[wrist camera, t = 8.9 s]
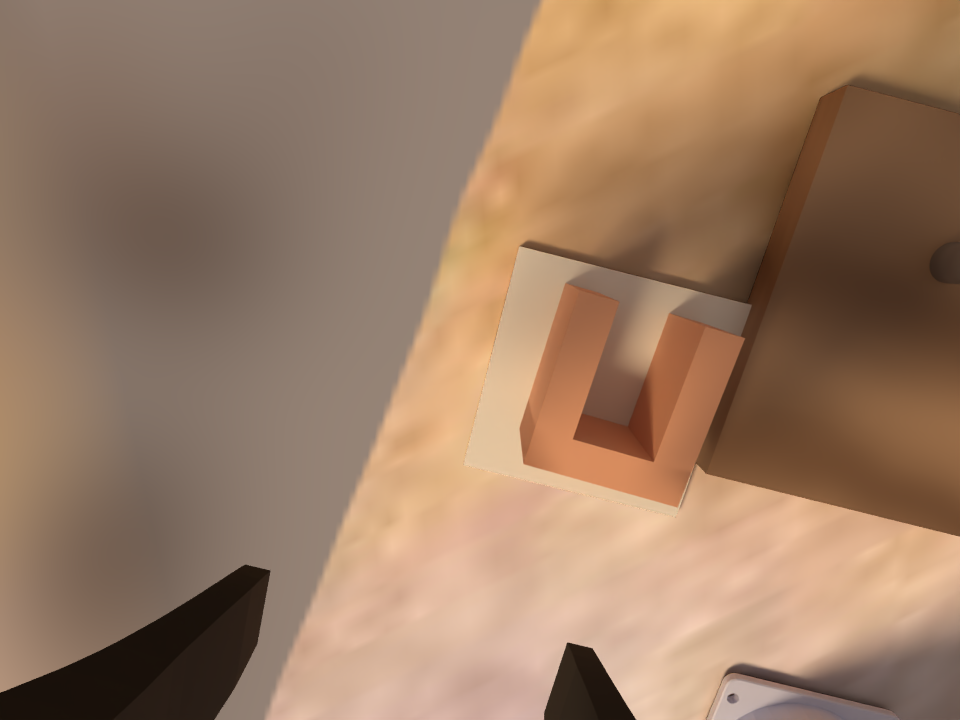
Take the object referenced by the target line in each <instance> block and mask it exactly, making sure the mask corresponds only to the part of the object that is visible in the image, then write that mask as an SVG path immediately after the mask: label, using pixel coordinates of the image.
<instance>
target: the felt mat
mask: <svg viewBox="0 0 960 720" xmlns="http://www.w3.org/2000/svg"><path fill="white" fill-rule="evenodd" d="M565 283H567V284H571V285H574V286H578V287H581V288H584V289H588V290H591V291H595V292H598V293H601V294H603V295H605V296H607V297H610V298H612V299H614V300H617V301H619V305H618V308H617V311H616V314H615V317H614V320H613V323H612V326H611V329H610V332H609V335H608V338H607V340H606V343H605V346H604V349H603V352H602V355H601V358H600V361H599V364H598V367H597V370H596V373H595V376H594V379H593V381H592V384H591V387H590V390H589V393H588V396H587V399H586V402H585V405H584V408H583V411H582V414H586V415H589V416H593V417H596V418H600V419H603V420H607V421H610V422H614V423H617V424H621V425H625V426H628V425H629V422H630V419H631V416H632V414H633V411H634V408H635V405H636V403H637V400H638V397H639V394H640V392H641V389H642V386H643V383H644V381H645V378H646V375H647V372H648V370H649V367H650V364H651V361H652V359H653V356H654V353H655V350H656V348H657V345H658V342H659V339H660V337H661V334H662V331H663V328H664V326H665V323H666V320H667V317H668V315H669V313H670V314H674V315H677V316H681V317H684V318H688V319H691V320H695V321H698V322H701V323H704V324H707V325H710V326H713V327H715V328H718V329H721V330H724V331H726V332H729V333H732V334H735V335H737V336H740V337H741V334H742V332H743V329H744V326H745V323H746V320H747V318H748V315H749V312H750V309H751V306H752V305H750V304H746V303H742V302H738V301H734V300H730V299H726V298H722V297H718V296H714V295H710V294H706V293H702V292H698V291H695V290H691V289H687V288H683V287H679V286H675V285H671V284H667V283H663V282H659V281H655V280H651V279H647V278H643V277H639V276H635V275H631V274H627V273H623V272H619V271H616V270H612V269H608V268H604V267H600V266H596V265H592V264H588V263H584V262H580V261H576V260H572V259H568V258H564V257H560V256H556V255H552V254H548V253H544V252H540V251H537V250H533V249H529V248H525V247H521V246H519V249H518V253H517V257H516V261H515V265H514V269H513V272H512V276H511V280H510V284H509V288H508V292H507V296H506V300H505V304H504V307H503V311H502V315H501V319H500V323H499V327H498V331H497V335H496V339H495V342H494V346H493V350H492V354H491V358H490V362H489V366H488V370H487V374H486V377H485V381H484V385H483V389H482V393H481V397H480V401H479V405H478V409H477V412H476V416H475V420H474V424H473V428H472V432H471V436H470V440H469V444H468V447H467V451H466V455H465V459H464V464H463V465H465V466H469V467H473V468H477V469H481V470H485V471H489V472H493V473H497V474H501V475H505V476H509V477H513V478H517V479H521V480H525V481H530V482H534V483H538V484H542V485H546V486H550V487H554V488H558V489H562V490H566V491H570V492H574V493H578V494H582V495H586V496H590V497H595V498H599V499H603V500H607V501H611V502H615V503H619V504H623V505H627V506H631V507H635V508H639V509H643V510H647V511H651V512H655V513H660V514H664V515H668V516H672V517H676V516H677V513H678V510H679V508H680V505H681V502H682V499H683V496H684V494H685V491H686V488H687V485H688V483H687V485H686V488H685V490H684V493H683V495H682V498H681V500H680V503H679V505H678V508H677V507H674V506H670V505H667V504H663V503H660V502H656V501H652V500H649V499H645V498H642V497H638V496H635V495H631V494H628V493H624V492H621V491H617V490H613V489H610V488H606V487H603V486H599V485H596V484H592V483H589V482H585V481H582V480H578V479H574V478H571V477H567V476H564V475H560V474H557V473H553V472H550V471H546V470H542V469H539V468H535V467H532V466H528V465H525V464H523V457H522V448H521V439H520V430H519V428H520V425H521V421H522V418H523V415H524V412H525V409H526V406H527V402H528V399H529V396H530V393H531V390H532V387H533V383H534V380H535V377H536V374H537V371H538V368H539V365H540V361H541V358H542V355H543V352H544V349H545V346H546V342H547V339H548V336H549V333H550V330H551V327H552V324H553V320H554V317H555V314H556V311H557V308H558V305H559V301H560V298H561V295H562V292H563V289H564V286H565ZM694 466H695V465H694ZM692 471H693V470H692ZM691 474H692V473H691ZM690 477H691V475H690ZM689 480H690V478H689ZM689 480H688V482H689Z"/></svg>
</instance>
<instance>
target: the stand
mask: <svg viewBox="0 0 960 720" xmlns="http://www.w3.org/2000/svg"><path fill="white" fill-rule="evenodd" d="M747 304H750V305H752V306H751V309H750V312H749V315H748V318H747V320H746V323H745V326H744V329H743V332H742V334H741V337H743V338H745V340H744V342H743V345H742V347H741V350H740V352H739V355H738V357H737V360H736V362H735V365H734V367H733V370H732V372H731V375H730V377H729V380H728V382H727V385H726V388H725V390H724V393H723V395H722V398H721V400H720V403H719V405H718V408H717V410H716V413H715V415H714V418H713V420H712V423H711V425H710V428H709V430H708V433H707V435H706V438H705V440H704V443H703V445H702V448H701V450H700V453H699V455H698V458H697V460H696V463H697V464H698V465H699V466H700V467H701V469H702V470H703V471H704V472H705V473H706V474H709V475H713V476H717V477H722V478H726V479H730V480H734V481H738V482H742V483H746V484H750V485H754V486H758V487H762V488H766V489H770V490H774V491H778V492H782V493H786V494H790V495H794V496H798V497H802V498H806V499H810V500H814V501H818V502H822V503H826V504H831V505H835V506H839V507H843V508H847V509H851V510H855V511H859V512H863V513H867V514H871V515H875V516H879V517H883V518H887V519H891V520H895V521H899V522H903V523H907V524H911V525H915V526H919V527H923V528H927V529H931V530H936V531H940V532H944V533H948V534H952V535H956V536H960V114H958V113H954V112H950V111H947V110H943V109H939V108H935V107H931V106H927V105H923V104H920V103H916V102H912V101H908V100H904V99H900V98H897V97H893V96H889V95H885V94H881V93H877V92H874V91H870V90H866V89H862V88H858V87H854V86H851V85H847V86H844V87H842V88H840V89H838V90H836V91H834V92H832V93H830V94H827V95H825V96H823V97H821V98H820V100H819V103H818V106H817V109H816V112H815V115H814V117H813V120H812V123H811V126H810V129H809V131H808V134H807V137H806V140H805V143H804V145H803V148H802V151H801V154H800V157H799V159H798V162H797V165H796V168H795V171H794V174H793V176H792V179H791V182H790V185H789V188H788V190H787V193H786V196H785V199H784V202H783V204H782V207H781V210H780V213H779V216H778V218H777V221H776V224H775V227H774V230H773V233H772V235H771V238H770V241H769V244H768V247H767V249H766V252H765V255H764V258H763V261H762V263H761V266H760V269H759V272H758V275H757V277H756V280H755V283H754V286H753V289H752V292H751V294H750V297H749V300H748V303H747Z"/></svg>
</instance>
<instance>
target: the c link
mask: <svg viewBox="0 0 960 720" xmlns="http://www.w3.org/2000/svg"><path fill="white" fill-rule="evenodd" d="M618 305H619V301H617V300H614V299H612V298H610V297H607V296H605V295H603V294H601V293H598V292H595V291H591V290H588V289H584V288H581V287H578V286H574V285H571V284H567V283H565V286H564V289H563V292H562V295H561V298H560V301H559V305H558V308H557V311H556V314H555V317H554V320H553V324H552V327H551V330H550V333H549V336H548V339H547V342H546V346H545V349H544V352H543V355H542V358H541V361H540V365H539V368H538V371H537V374H536V377H535V380H534V383H533V387H532V390H531V393H530V396H529V399H528V402H527V406H526V409H525V412H524V415H523V418H522V421H521V425H520V428H519V430H520V439H521V448H522V457H523V464H525V465H528V466H532V467H535V468H539V469H542V470H546V471H550V472H553V473H557V474H560V475H564V476H567V477H571V478H574V479H578V480H582V481H585V482H589V483H592V484H596V485H599V486H603V487H606V488H610V489H613V490H617V491H621V492H624V493H628V494H631V495H635V496H638V497H642V498H645V499H649V500H652V501H656V502H660V503H663V504H667V505H670V506H674V507H677V508H678V505H679V503H680V500H681V498H682V495H683V493H684V490H685V488H686V485H687V483H688V480H689V478H690V475H691V473H692V470H693V468H694V465H695V463H696V460H697V458H698V455H699V453H700V450H701V448H702V445H703V443H704V440H705V438H706V435H707V433H708V430H709V428H710V425H711V423H712V420H713V418H714V415H715V413H716V410H717V408H718V405H719V403H720V400H721V398H722V395H723V393H724V390H725V388H726V385H727V382H728V380H729V377H730V375H731V372H732V370H733V367H734V365H735V362H736V360H737V357H738V355H739V352H740V350H741V347H742V345H743V342H744V340H745V338H743V337H740V336H737V335H735V334H732V333H729V332H726V331H724V330H721V329H718V328H715V327H713V326H710V325H707V324H704V323H701V322H698V321H695V320H691V319H688V318H684V317H681V316H677V315H674V314H670V313H669V315H668V317H667V320H666V323H665V326H664V328H663V331H662V334H661V337H660V339H659V342H658V345H657V348H656V350H655V353H654V356H653V359H652V361H651V364H650V367H649V370H648V372H647V375H646V378H645V381H644V383H643V386H642V389H641V392H640V394H639V397H638V400H637V403H636V405H635V408H634V411H633V414H632V416H631V419H630V422H629V425H628V426H625V425H621V424H617V423H614V422H610V421H607V420H603V419H600V418H596V417H593V416H589V415H586V414H582V411H583V408H584V405H585V402H586V399H587V396H588V393H589V390H590V387H591V384H592V381H593V379H594V376H595V373H596V370H597V367H598V364H599V361H600V358H601V355H602V352H603V349H604V346H605V343H606V340H607V338H608V335H609V332H610V329H611V326H612V323H613V320H614V317H615V314H616V311H617V308H618Z"/></svg>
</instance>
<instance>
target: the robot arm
mask: <svg viewBox="0 0 960 720" xmlns="http://www.w3.org/2000/svg"><path fill="white" fill-rule="evenodd" d="M269 576H270V570H265V569H261V568H257V567H253V566H249V565H244V566H242V567H240V568H239V569H237V570H235V571H234V572H232V573H231V574H229V575H228V576H226V577H225V578H223V579H222V580H220V581H219V582H217V583H215V584H214V585H212V586H211V587H209V588H208V589H206V590H205V591H203V592H202V593H200V594H198V595H197V596H195V597H194V598H192V599H190V600H189V601H187V602H186V603H184V604H182V605H181V606H179V607H177V608H176V609H174V610H173V611H171V612H169V613H168V614H166V615H164V616H163V617H161V618H160V619H158V620H156V621H154V622H152V623H150V624H149V625H147V626H145V627H143V628H142V629H140V630H138V631H136V632H135V633H133V634H131V635H129V636H127V637H125V638H124V639H122V640H120V641H118V642H116V643H114V644H112V645H110V646H108V647H106V648H104V649H102V650H100V651H99V652H96V653H94V654H92V655H90V656H87V657H85V658H83V659H81V660H79V661H77V662H75V663H72V664H70V665H68V666H66V667H64V668H61V669H59V670H56V671H54V672H51V673H49V674H46V675H44V676H42V677H39V678H36V679H34V680H31V681H29V682H26V683H24V684H21V685H19V686H16V687H14V688H11V689H9V690H7V691H4V692H1V693H0V720H214V719H215V718H216V716H217V714H218V713H219V711H220V710H221V708H222V707H223V705H224V704H225V702H226V701H227V699H228V698H229V696H230V695H231V693H232V691H233V690H234V688H235V686H236V684H237V682H238V681H239V679H240V677H241V675H242V673H243V671H244V669H245V667H246V665H247V663H248V661H249V659H250V657H251V655H252V653H253V651H254V649H255V647H256V645H257V642H258V637H259V630H260V625H261V619H262V615H263V609H264V604H265V598H266V592H267V587H268V582H269ZM732 693H734V694H733V695H732V696H728V695H730V694H732ZM544 720H636V719H635V717H634V716H633V714H632V713H631V711H630V709H629V708H628V706H627V705H626V703H625V701H624V700H623V698H622V697H621V695H620V693H619V692H618V690H617V688H616V687H615V685H614V683H613V682H612V680H611V678H610V677H609V675H608V673H607V672H606V670H605V668H604V667H603V665H602V663H601V662H600V660H599V658H598V657H597V655H596V654H595V652H594V650H593V649H592V648H588V647H584V646H580V645H576V644H572V643H568V642H567V645H566V648H565V651H564V654H563V657H562V660H561V663H560V666H559V670H558V673H557V676H556V679H555V682H554V685H553V688H552V691H551V694H550V697H549V700H548V703H547V706H546V709H545V712H544ZM707 720H900V719H899V718H898V717H897V715H896V714H895V713H894V712H892V711H890V710H887V709H883V708H878V707H874V706H870V705H866V704H862V703H858V702H854V701H849V700H845V699H841V698H837V697H833V696H829V695H825V694H820V693H816V692H812V691H808V690H804V689H800V688H796V687H792V686H787V685H783V684H779V683H775V682H771V681H767V680H763V679H758V678H754V677H750V676H746V675H742V674H738V673H731V674H728V675H727V676H725V677H724V679H723V681H722V683H721V685H720V688H719V690H718V693H717V695H716V698H715V700H714V703H713V705H712V707H711V710H710V712H709V715H708V717H707Z"/></svg>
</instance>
